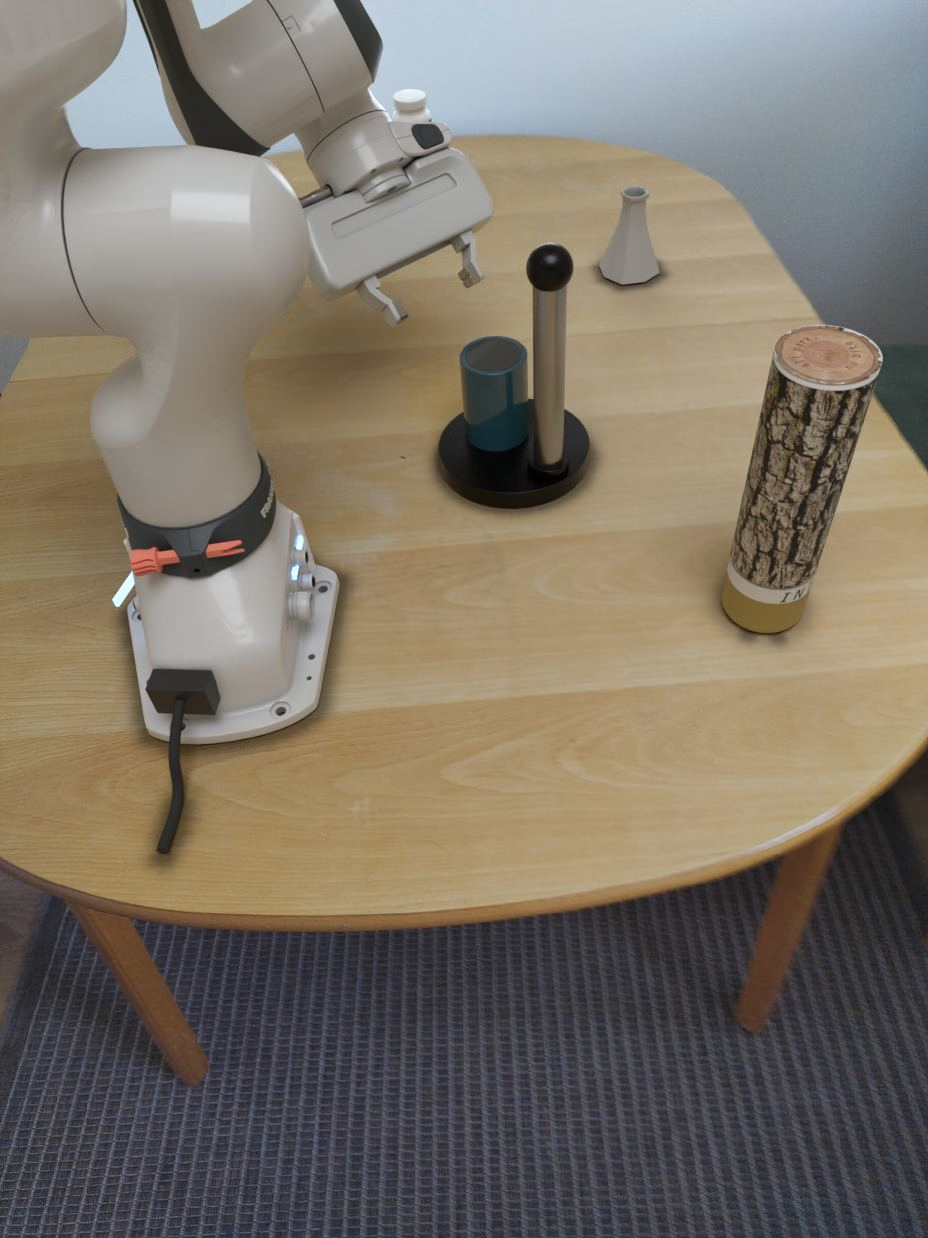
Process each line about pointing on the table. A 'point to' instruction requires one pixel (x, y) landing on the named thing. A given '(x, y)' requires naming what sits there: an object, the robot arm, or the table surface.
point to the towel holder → (529, 412)
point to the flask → (630, 242)
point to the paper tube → (797, 471)
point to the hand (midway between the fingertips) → (438, 302)
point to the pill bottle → (410, 106)
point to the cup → (495, 392)
